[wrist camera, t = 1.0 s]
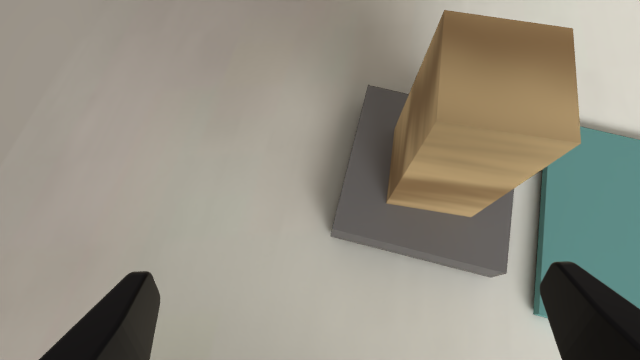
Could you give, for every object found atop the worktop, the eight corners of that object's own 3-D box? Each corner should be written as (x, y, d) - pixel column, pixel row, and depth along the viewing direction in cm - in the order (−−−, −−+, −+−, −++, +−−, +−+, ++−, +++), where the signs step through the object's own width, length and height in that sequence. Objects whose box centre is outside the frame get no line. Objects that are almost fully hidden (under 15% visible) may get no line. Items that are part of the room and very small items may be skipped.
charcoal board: (491, 277, 24) (506, 273, 22) (330, 236, 24) (332, 228, 23) (505, 133, 27) (520, 119, 25) (364, 101, 28) (368, 85, 26)
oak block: (471, 217, 23) (581, 143, 14) (386, 203, 23) (436, 120, 14) (473, 140, 25) (572, 28, 15) (394, 128, 25) (444, 10, 15)
